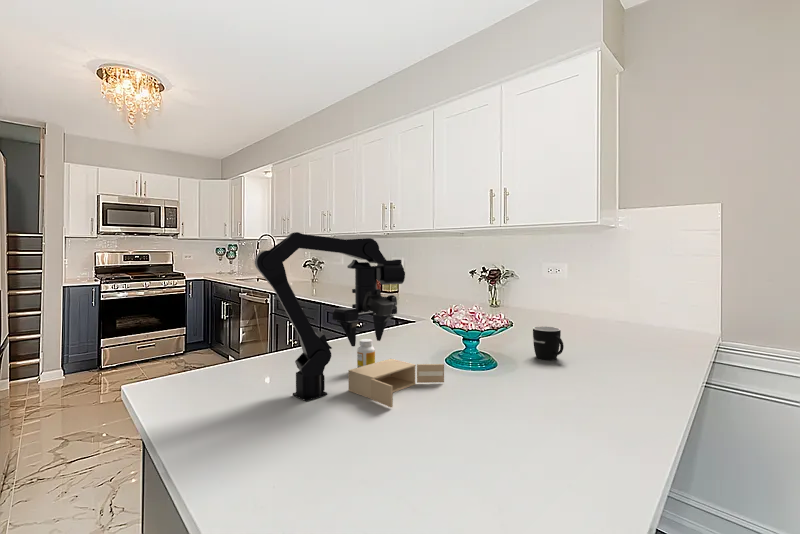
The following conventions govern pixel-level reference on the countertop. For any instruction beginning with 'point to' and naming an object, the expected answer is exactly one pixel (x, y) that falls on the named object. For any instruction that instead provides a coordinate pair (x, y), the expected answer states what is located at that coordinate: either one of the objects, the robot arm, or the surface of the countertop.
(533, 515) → the countertop surface
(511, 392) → the countertop surface
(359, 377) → the carton
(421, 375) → the right flap
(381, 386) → the left flap
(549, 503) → the countertop surface
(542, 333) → the mug
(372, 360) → the supplement bottle
